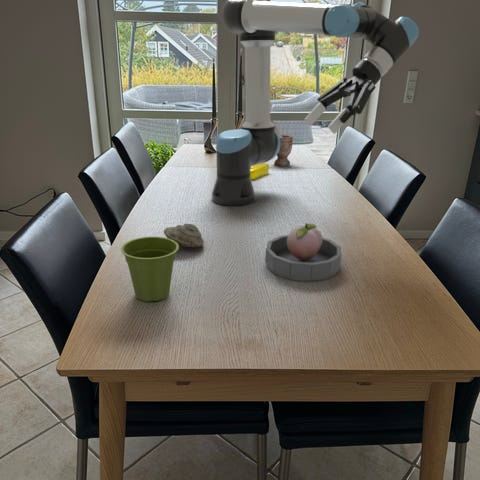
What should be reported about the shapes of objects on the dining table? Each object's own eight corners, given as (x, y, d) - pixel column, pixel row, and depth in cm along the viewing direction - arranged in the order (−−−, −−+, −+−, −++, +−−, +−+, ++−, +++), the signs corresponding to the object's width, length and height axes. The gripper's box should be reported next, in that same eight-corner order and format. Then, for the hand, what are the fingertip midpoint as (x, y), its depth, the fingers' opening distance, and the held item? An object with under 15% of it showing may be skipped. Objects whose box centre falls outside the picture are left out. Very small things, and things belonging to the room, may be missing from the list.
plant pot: (171, 311, 95) (168, 261, 91) (116, 305, 97) (111, 255, 93) (187, 284, 106) (185, 238, 102) (137, 279, 108) (133, 234, 103)
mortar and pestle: (266, 167, 209) (267, 121, 201) (265, 162, 217) (266, 118, 209) (291, 167, 209) (294, 121, 201) (290, 162, 217) (292, 118, 209)
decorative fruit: (293, 250, 121) (295, 214, 118) (323, 256, 118) (327, 219, 114) (280, 264, 114) (282, 226, 110) (312, 271, 110) (316, 232, 107)
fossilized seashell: (172, 244, 117) (173, 217, 119) (156, 250, 126) (157, 225, 128) (209, 248, 123) (210, 223, 124) (191, 255, 132) (192, 230, 133)
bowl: (261, 277, 109) (262, 260, 108) (270, 247, 126) (271, 232, 124) (339, 285, 106) (341, 267, 105) (338, 253, 123) (340, 237, 121)
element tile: (270, 173, 200) (270, 162, 198) (251, 181, 188) (251, 169, 186) (240, 168, 207) (240, 158, 205) (221, 176, 195) (221, 164, 193)
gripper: (407, 81, 119) (350, 143, 120) (354, 75, 141) (306, 128, 142) (393, 59, 116) (334, 123, 117) (340, 56, 137) (291, 110, 138)
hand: (318, 126), depth 129 cm, fingers open, 13 cm apart
